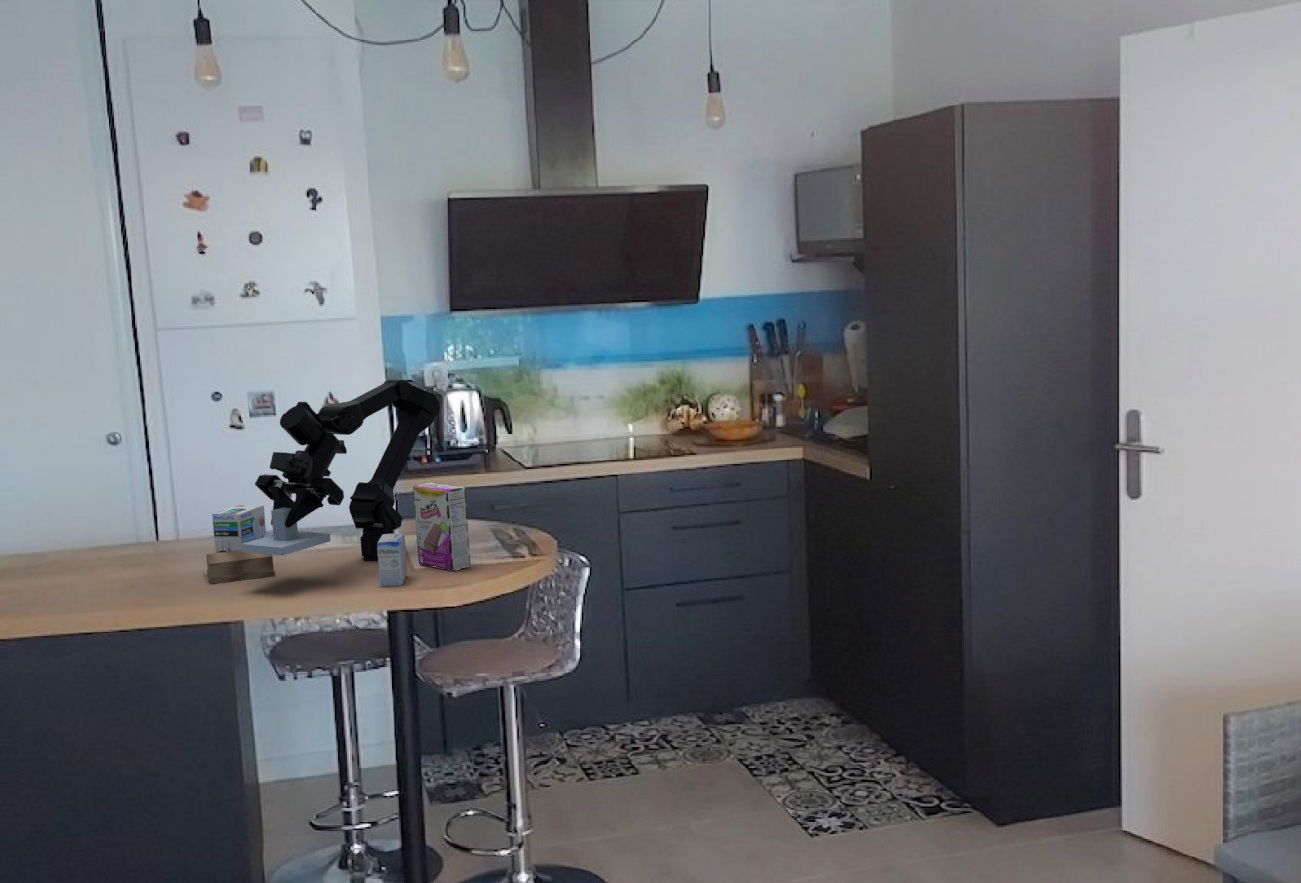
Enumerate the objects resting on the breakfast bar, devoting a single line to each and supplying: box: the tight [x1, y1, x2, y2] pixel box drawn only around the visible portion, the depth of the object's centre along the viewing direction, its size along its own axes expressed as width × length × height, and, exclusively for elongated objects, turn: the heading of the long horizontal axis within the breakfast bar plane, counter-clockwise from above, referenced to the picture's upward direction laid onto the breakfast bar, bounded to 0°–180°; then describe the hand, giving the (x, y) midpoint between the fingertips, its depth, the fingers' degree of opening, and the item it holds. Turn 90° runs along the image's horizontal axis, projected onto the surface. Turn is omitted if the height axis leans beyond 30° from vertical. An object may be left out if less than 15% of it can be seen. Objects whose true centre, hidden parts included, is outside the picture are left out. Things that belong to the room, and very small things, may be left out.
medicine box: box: [377, 533, 408, 588], centre depth 247 cm, size 8×4×9 cm, turn 5°
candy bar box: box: [412, 482, 471, 571], centre depth 257 cm, size 11×5×16 cm, turn 48°
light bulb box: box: [211, 504, 267, 553], centre depth 274 cm, size 11×7×11 cm, turn 168°
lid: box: [241, 508, 331, 557], centre depth 246 cm, size 13×11×7 cm
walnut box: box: [205, 550, 276, 585], centre depth 259 cm, size 12×10×4 cm
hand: (279, 526), depth 245 cm, fingers closed on lid, 3 cm apart
